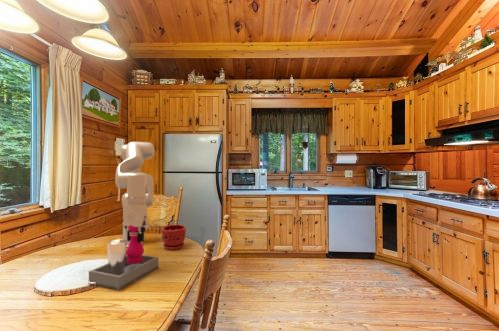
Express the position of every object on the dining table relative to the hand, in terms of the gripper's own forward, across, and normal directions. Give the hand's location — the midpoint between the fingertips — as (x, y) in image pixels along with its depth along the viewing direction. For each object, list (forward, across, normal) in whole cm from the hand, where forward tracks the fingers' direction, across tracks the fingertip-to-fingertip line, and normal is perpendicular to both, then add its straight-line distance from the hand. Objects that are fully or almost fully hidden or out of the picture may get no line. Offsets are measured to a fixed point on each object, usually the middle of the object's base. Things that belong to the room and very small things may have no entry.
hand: (135, 240), depth 110 cm
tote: (+14, 0, -5) cm, 14 cm away
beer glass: (+13, 0, -10) cm, 16 cm away
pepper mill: (+10, 0, 0) cm, 10 cm away
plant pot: (+14, -3, +33) cm, 36 cm away
